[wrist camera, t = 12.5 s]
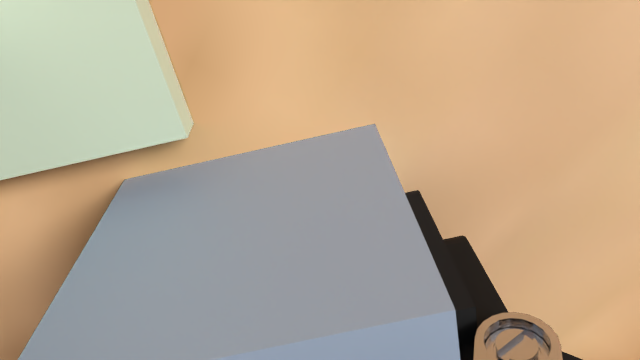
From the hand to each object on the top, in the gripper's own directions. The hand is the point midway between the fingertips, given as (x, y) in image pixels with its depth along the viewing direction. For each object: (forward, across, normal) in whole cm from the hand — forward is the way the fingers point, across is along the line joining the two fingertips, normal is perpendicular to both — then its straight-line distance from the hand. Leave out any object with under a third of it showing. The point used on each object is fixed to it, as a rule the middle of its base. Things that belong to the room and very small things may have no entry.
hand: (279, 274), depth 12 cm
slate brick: (+1, 0, 0) cm, 1 cm away
